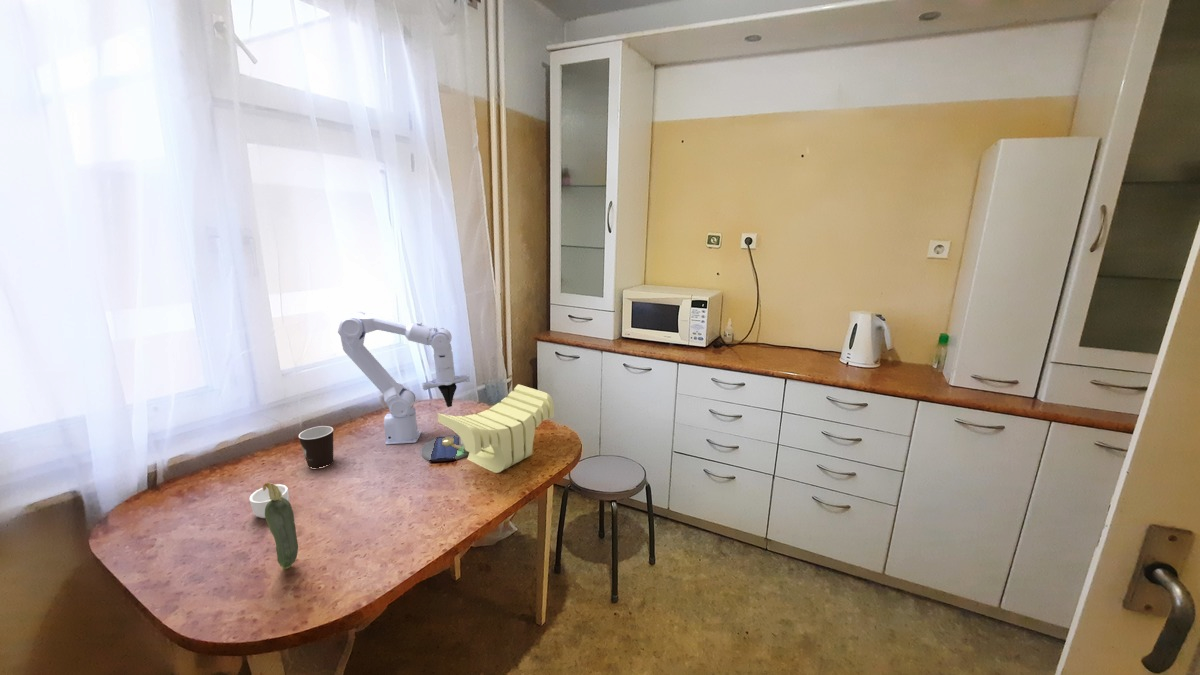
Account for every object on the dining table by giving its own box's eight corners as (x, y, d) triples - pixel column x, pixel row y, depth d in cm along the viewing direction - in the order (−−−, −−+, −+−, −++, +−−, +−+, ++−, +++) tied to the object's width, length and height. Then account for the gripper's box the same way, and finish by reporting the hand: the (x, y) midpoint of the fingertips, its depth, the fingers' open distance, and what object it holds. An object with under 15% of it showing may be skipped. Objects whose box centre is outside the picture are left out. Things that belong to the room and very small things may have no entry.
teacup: (294, 513, 112) (291, 493, 110) (256, 527, 106) (251, 506, 105) (285, 496, 118) (282, 477, 117) (249, 508, 113) (245, 489, 112)
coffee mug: (335, 468, 132) (330, 436, 130) (300, 473, 129) (295, 441, 126) (341, 449, 142) (336, 420, 140) (309, 454, 139) (304, 424, 137)
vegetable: (306, 561, 96) (291, 475, 91) (294, 576, 91) (277, 488, 87) (285, 561, 96) (268, 476, 91) (271, 577, 91) (253, 488, 86)
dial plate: (416, 464, 134) (415, 460, 134) (427, 439, 150) (427, 436, 149) (472, 460, 137) (471, 456, 136) (477, 436, 152) (477, 433, 152)
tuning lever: (439, 446, 142) (438, 431, 141) (448, 441, 145) (447, 427, 144) (463, 453, 138) (462, 438, 136) (472, 448, 141) (471, 433, 139)
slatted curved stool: (477, 490, 122) (473, 428, 117) (442, 470, 131) (437, 413, 127) (554, 447, 145) (553, 395, 140) (520, 433, 154) (518, 384, 150)
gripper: (423, 374, 140) (428, 415, 144) (470, 365, 147) (474, 404, 151) (419, 368, 146) (424, 407, 150) (464, 360, 153) (468, 398, 157)
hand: (449, 405), depth 151 cm, fingers closed
